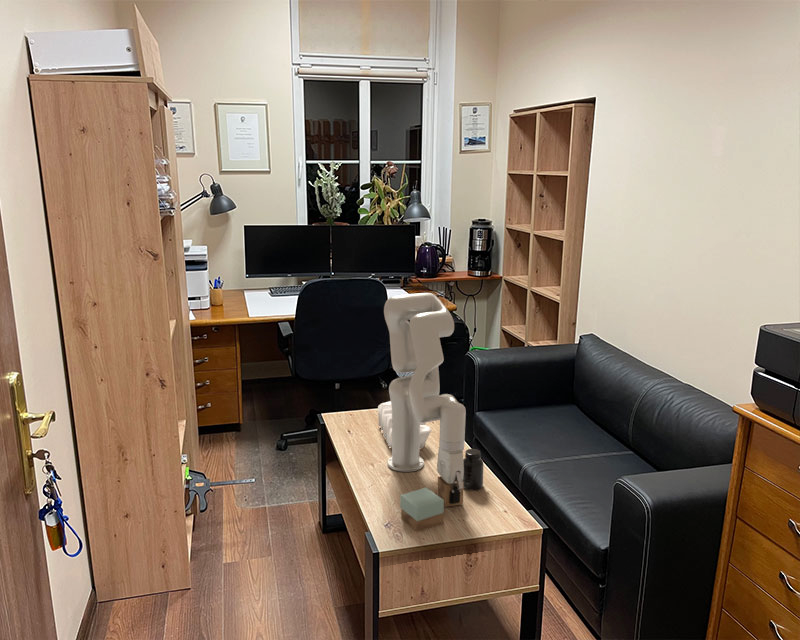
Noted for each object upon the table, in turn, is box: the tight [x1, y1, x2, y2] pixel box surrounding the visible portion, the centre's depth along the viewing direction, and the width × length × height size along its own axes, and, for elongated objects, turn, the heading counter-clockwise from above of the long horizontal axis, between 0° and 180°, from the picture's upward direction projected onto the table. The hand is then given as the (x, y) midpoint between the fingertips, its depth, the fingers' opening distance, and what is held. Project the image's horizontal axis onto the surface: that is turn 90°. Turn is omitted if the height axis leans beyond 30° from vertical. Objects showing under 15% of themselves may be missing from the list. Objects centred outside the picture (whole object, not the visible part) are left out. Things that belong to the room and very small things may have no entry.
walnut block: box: [436, 476, 465, 508], centre depth 199 cm, size 6×6×7 cm
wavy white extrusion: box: [377, 400, 432, 449], centre depth 250 cm, size 35×16×11 cm, turn 9°
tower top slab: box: [399, 487, 445, 521], centre depth 188 cm, size 9×9×4 cm
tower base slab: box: [400, 508, 445, 533], centre depth 189 cm, size 9×9×4 cm
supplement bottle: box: [462, 448, 484, 491], centre depth 209 cm, size 7×7×12 cm
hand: (450, 497), depth 200 cm, fingers closed on walnut block, 6 cm apart
